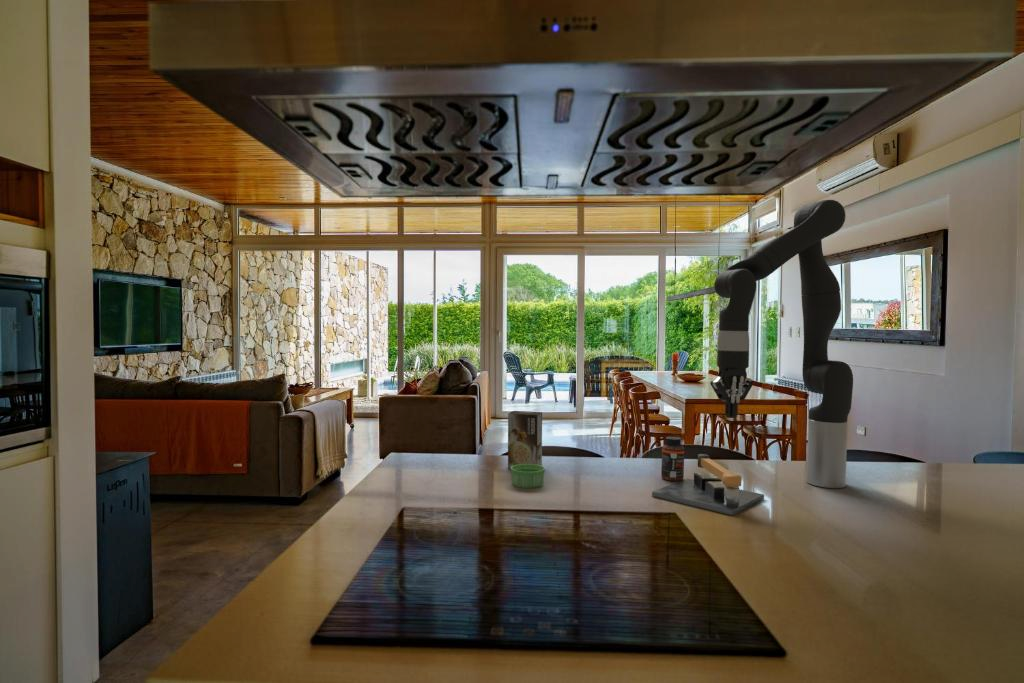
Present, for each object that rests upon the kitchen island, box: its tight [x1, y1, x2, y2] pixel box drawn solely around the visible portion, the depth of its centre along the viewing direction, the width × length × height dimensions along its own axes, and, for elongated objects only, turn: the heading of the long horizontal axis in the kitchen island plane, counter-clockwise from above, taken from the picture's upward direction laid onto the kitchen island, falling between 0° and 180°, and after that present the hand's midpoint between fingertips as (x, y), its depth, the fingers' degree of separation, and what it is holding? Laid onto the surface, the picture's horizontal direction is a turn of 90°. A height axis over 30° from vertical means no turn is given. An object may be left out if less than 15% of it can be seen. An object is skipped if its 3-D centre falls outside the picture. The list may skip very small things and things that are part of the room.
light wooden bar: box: [697, 453, 742, 488], centre depth 142 cm, size 22×4×3 cm, turn 1°
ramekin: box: [510, 464, 546, 489], centre depth 152 cm, size 9×9×4 cm
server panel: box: [651, 472, 765, 516], centre depth 143 cm, size 19×20×5 cm
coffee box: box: [507, 410, 543, 470], centre depth 170 cm, size 9×6×16 cm
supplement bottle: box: [660, 436, 685, 482], centre depth 160 cm, size 6×6×11 cm
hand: (731, 417), depth 148 cm, fingers closed
